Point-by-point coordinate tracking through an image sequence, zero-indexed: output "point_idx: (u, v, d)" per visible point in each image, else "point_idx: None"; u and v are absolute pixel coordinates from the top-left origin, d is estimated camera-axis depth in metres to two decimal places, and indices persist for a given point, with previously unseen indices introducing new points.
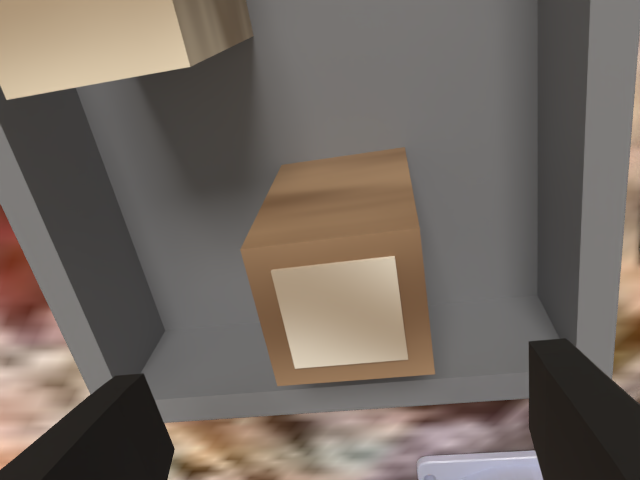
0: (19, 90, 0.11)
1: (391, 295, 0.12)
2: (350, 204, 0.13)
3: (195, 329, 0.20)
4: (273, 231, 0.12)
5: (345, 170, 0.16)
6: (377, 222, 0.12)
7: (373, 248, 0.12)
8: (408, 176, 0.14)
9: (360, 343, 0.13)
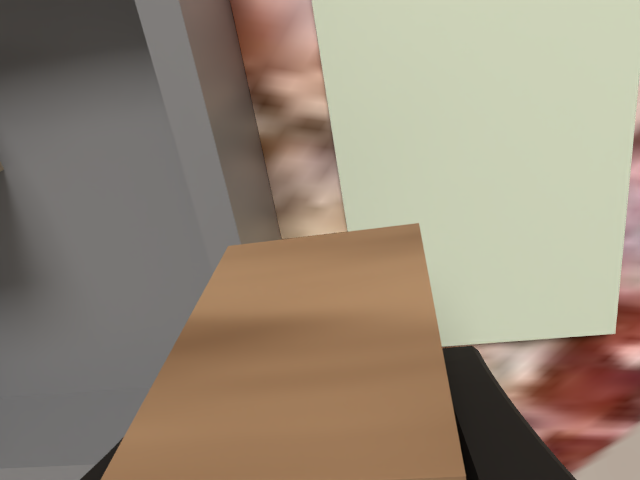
0: None
1: None
2: (325, 365, 0.07)
3: (2, 399, 0.23)
4: (171, 437, 0.06)
5: (322, 268, 0.09)
6: (374, 436, 0.06)
7: None
8: (429, 296, 0.08)
9: None
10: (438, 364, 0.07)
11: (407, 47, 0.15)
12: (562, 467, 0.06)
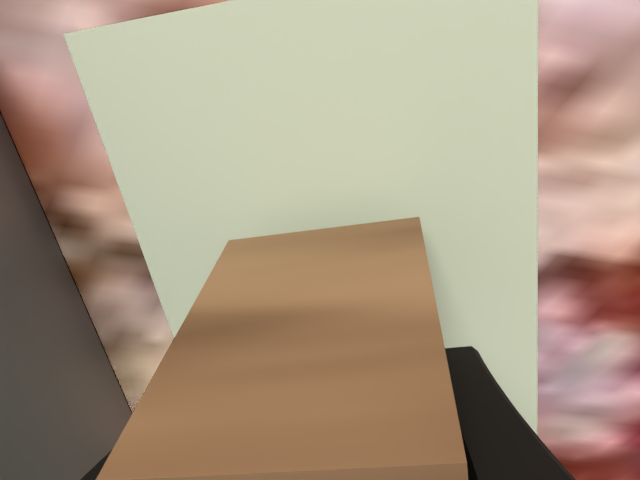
0: None
1: None
2: (327, 355, 0.07)
3: None
4: (173, 426, 0.06)
5: (323, 262, 0.09)
6: (375, 424, 0.06)
7: None
8: (430, 288, 0.08)
9: None
10: (439, 354, 0.07)
11: (225, 165, 0.11)
12: (561, 467, 0.06)
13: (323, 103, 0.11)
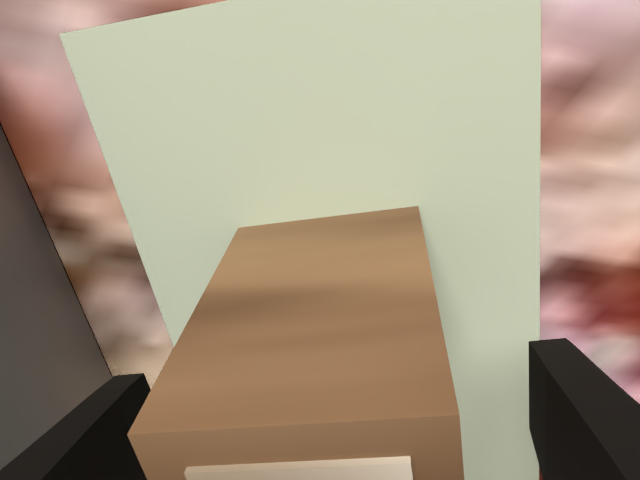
0: None
1: None
2: (333, 328, 0.08)
3: None
4: (195, 388, 0.07)
5: (328, 246, 0.10)
6: (378, 384, 0.06)
7: (370, 442, 0.06)
8: (428, 269, 0.09)
9: None
10: (435, 325, 0.07)
11: (224, 167, 0.11)
12: None
13: (323, 104, 0.10)
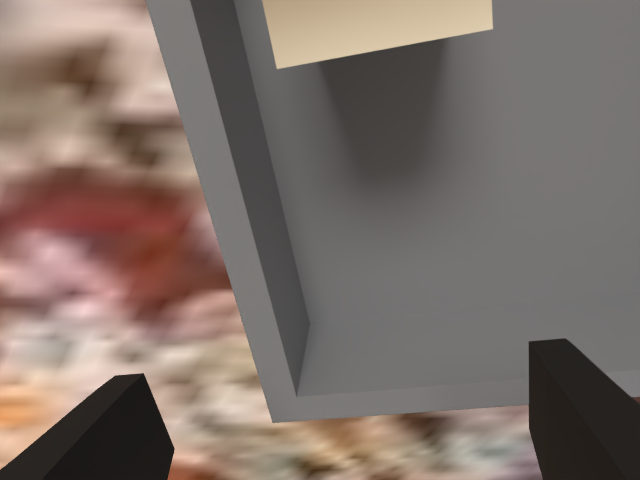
0: (293, 59, 0.10)
1: None
2: None
3: (343, 322, 0.20)
4: None
5: None
6: None
7: None
8: None
9: None
10: None
11: None
12: None
13: None
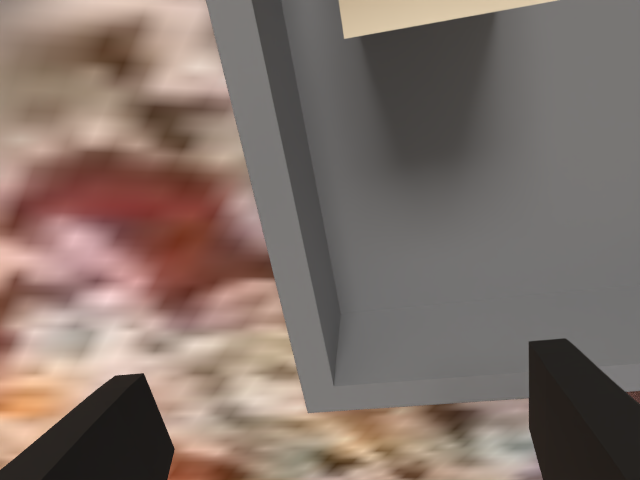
0: (362, 28, 0.10)
1: None
2: None
3: (375, 311, 0.19)
4: None
5: None
6: None
7: None
8: None
9: None
10: None
11: None
12: None
13: None
